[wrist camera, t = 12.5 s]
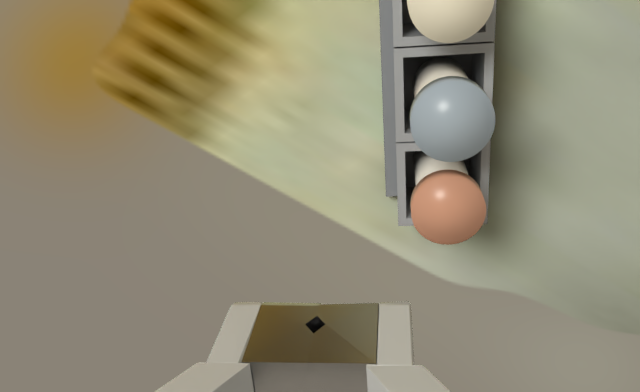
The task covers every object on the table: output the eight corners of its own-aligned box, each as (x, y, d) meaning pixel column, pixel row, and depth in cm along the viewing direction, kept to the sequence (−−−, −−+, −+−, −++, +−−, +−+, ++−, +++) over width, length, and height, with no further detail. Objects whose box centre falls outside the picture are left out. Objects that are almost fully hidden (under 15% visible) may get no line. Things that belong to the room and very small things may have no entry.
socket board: (496, -74, 35) (516, -75, 29) (486, 188, 42) (500, 226, 36) (377, -64, 36) (374, -63, 30) (386, 190, 42) (385, 228, 37)
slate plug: (474, 48, 34) (497, 79, 27) (472, 114, 36) (493, 160, 29) (405, 52, 35) (409, 83, 28) (406, 117, 37) (411, 163, 29)
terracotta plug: (469, 129, 38) (487, 176, 31) (467, 186, 40) (484, 243, 32) (406, 132, 39) (410, 178, 31) (407, 188, 40) (411, 244, 33)
